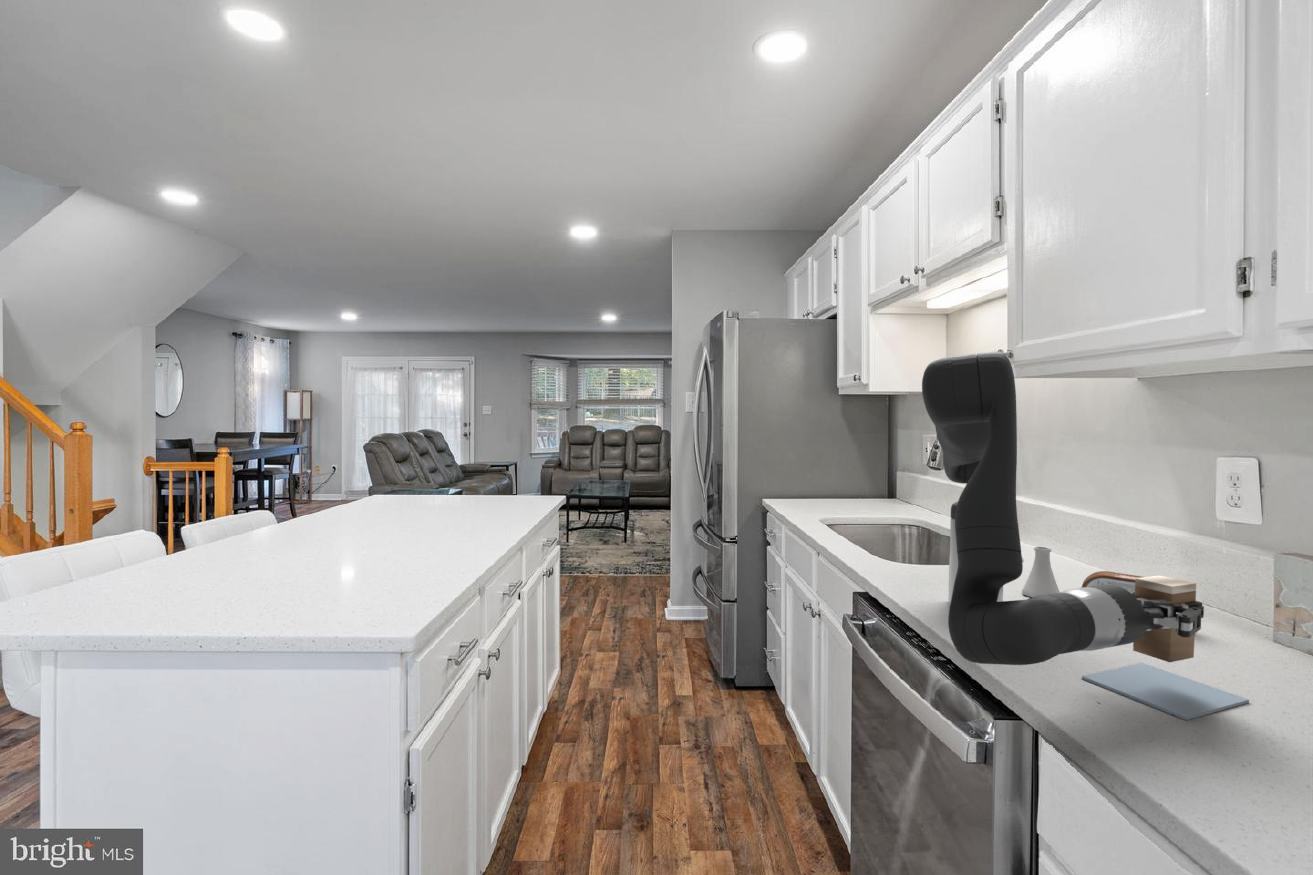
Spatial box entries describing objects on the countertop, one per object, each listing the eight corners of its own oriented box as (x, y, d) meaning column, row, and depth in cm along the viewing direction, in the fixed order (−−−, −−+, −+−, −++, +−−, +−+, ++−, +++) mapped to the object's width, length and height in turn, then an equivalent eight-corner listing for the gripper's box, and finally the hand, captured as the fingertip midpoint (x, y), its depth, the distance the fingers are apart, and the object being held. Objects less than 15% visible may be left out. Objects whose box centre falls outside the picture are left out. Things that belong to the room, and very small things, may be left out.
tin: (1184, 628, 110) (1185, 581, 110) (1183, 633, 108) (1184, 584, 108) (1081, 610, 120) (1082, 567, 120) (1078, 614, 118) (1079, 570, 118)
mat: (1081, 678, 90) (1081, 675, 90) (1141, 665, 94) (1141, 662, 94) (1186, 720, 77) (1186, 716, 77) (1249, 702, 82) (1249, 699, 82)
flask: (1066, 595, 130) (1067, 547, 130) (1056, 603, 125) (1058, 553, 125) (1026, 588, 135) (1028, 542, 135) (1016, 595, 130) (1017, 547, 130)
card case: (1133, 650, 87) (1135, 578, 86) (1156, 645, 88) (1158, 575, 88) (1169, 662, 82) (1172, 586, 82) (1193, 657, 84) (1196, 583, 84)
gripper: (1154, 603, 73) (1242, 590, 79) (1040, 575, 87) (1123, 565, 93) (1152, 667, 74) (1240, 649, 80) (1039, 629, 87) (1122, 615, 93)
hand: (1177, 603), depth 86 cm, fingers closed on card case, 4 cm apart
